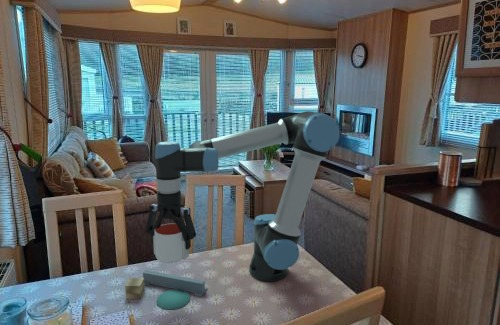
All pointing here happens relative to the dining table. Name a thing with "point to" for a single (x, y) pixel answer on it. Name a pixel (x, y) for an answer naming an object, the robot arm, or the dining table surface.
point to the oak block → (135, 288)
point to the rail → (175, 282)
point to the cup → (168, 243)
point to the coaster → (173, 299)
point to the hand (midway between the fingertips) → (171, 255)
